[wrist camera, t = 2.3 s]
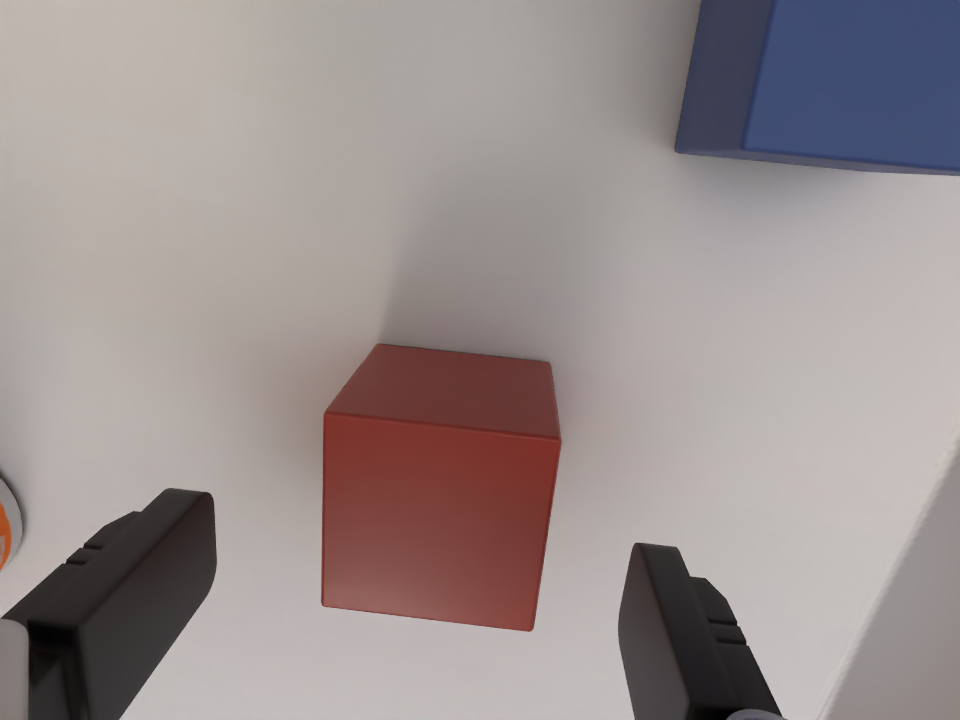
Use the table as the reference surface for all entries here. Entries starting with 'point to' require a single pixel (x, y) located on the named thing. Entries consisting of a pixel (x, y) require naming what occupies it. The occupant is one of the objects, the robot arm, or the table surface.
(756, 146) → the blue block
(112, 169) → the table surface
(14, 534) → the pill bottle
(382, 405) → the red block
